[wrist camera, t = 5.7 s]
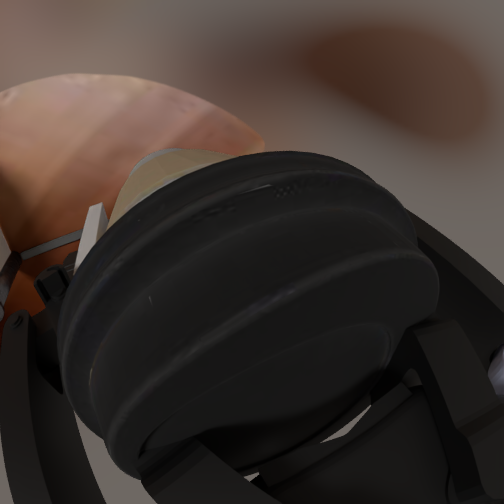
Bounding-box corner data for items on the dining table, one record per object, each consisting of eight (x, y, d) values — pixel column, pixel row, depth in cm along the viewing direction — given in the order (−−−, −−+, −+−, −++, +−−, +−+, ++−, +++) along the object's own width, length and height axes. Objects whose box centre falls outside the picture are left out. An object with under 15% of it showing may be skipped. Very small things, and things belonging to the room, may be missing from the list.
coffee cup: (256, 214, 20) (423, 365, 8) (145, 281, 19) (217, 496, 7) (206, 92, 14) (479, 104, 3) (68, 172, 13) (-45, 421, 1)
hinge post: (11, 272, 26) (-10, 324, 18) (1, 252, 24) (-25, 302, 16) (27, 265, 27) (8, 318, 19) (18, 245, 25) (-8, 294, 17)
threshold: (23, 259, 26) (23, 260, 26) (20, 252, 26) (20, 253, 26) (112, 226, 31) (112, 227, 31) (110, 219, 30) (110, 220, 30)
